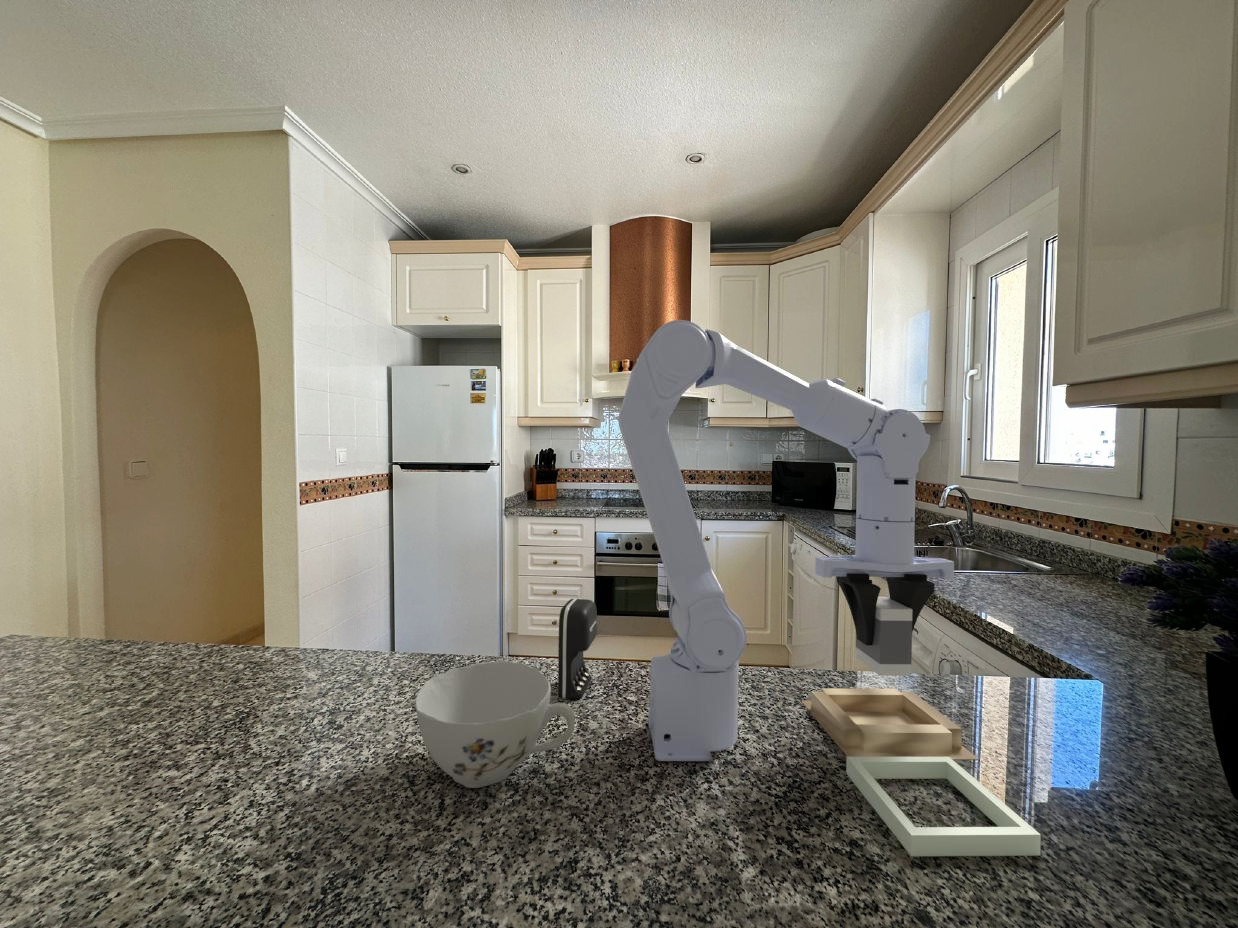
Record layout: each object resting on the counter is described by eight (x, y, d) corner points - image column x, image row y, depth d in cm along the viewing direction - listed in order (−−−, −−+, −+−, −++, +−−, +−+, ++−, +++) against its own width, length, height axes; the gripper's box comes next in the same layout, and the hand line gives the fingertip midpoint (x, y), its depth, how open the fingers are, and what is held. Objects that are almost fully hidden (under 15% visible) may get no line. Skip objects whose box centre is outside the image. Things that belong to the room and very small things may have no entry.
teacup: (384, 808, 42) (386, 714, 42) (449, 729, 54) (450, 657, 54) (558, 824, 40) (560, 726, 40) (584, 739, 53) (585, 665, 53)
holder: (849, 769, 48) (850, 738, 48) (801, 708, 60) (801, 684, 60) (979, 769, 49) (979, 738, 49) (905, 708, 61) (905, 684, 61)
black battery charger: (586, 703, 61) (587, 610, 61) (556, 700, 61) (558, 608, 61) (598, 679, 68) (599, 596, 68) (571, 676, 68) (572, 594, 68)
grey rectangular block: (879, 675, 52) (880, 609, 52) (855, 656, 57) (856, 596, 57) (911, 675, 52) (912, 609, 52) (884, 657, 57) (885, 596, 57)
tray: (911, 868, 36) (911, 835, 36) (846, 783, 46) (846, 756, 46) (1040, 867, 37) (1040, 834, 37) (948, 782, 47) (948, 756, 47)
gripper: (925, 516, 59) (923, 630, 59) (805, 514, 58) (803, 629, 58) (969, 523, 52) (967, 653, 52) (832, 521, 51) (830, 652, 51)
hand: (882, 642), depth 54 cm, fingers closed on grey rectangular block, 3 cm apart
